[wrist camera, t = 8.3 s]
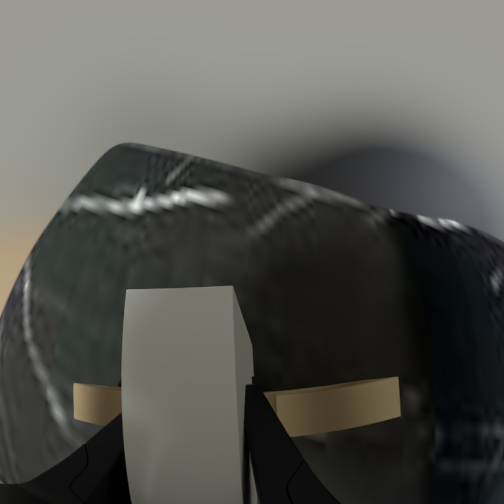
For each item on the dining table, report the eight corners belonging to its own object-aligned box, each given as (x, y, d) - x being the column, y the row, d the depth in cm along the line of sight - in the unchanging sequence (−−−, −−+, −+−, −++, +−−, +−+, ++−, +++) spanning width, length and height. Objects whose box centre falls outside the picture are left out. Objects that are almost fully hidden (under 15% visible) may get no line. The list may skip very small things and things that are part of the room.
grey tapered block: (259, 471, 12) (249, 578, 3) (213, 471, 12) (146, 565, 3) (252, 345, 15) (232, 285, 6) (207, 346, 15) (126, 289, 6)
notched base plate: (363, 379, 15) (398, 376, 11) (365, 409, 14) (400, 416, 10) (117, 386, 16) (73, 383, 11) (117, 414, 15) (74, 418, 10)
